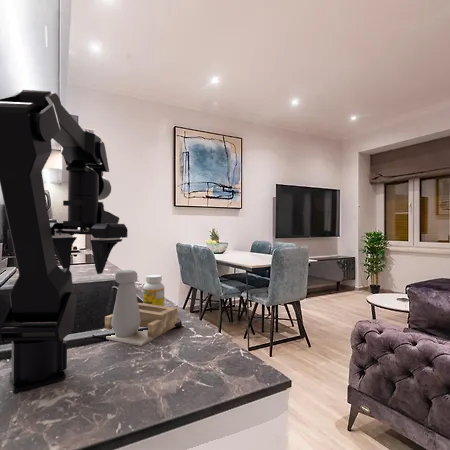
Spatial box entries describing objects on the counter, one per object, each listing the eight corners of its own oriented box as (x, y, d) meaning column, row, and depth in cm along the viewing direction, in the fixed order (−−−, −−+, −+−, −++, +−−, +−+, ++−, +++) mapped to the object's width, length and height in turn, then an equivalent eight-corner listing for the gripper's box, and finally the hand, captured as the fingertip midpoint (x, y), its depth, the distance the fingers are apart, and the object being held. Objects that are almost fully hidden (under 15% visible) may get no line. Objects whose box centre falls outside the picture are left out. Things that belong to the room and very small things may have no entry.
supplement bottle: (168, 312, 81) (168, 275, 81) (151, 317, 77) (152, 278, 77) (155, 308, 85) (155, 273, 85) (138, 312, 81) (139, 275, 81)
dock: (141, 346, 59) (141, 325, 59) (91, 335, 64) (92, 316, 64) (177, 325, 71) (177, 308, 71) (133, 318, 76) (134, 302, 76)
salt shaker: (132, 327, 68) (133, 267, 68) (145, 334, 64) (146, 270, 64) (106, 333, 64) (107, 270, 64) (118, 341, 60) (118, 273, 60)
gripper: (145, 198, 68) (144, 270, 68) (82, 200, 75) (81, 264, 76) (107, 194, 58) (106, 278, 58) (38, 196, 65) (37, 270, 65)
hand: (82, 272), depth 64 cm, fingers open, 9 cm apart
